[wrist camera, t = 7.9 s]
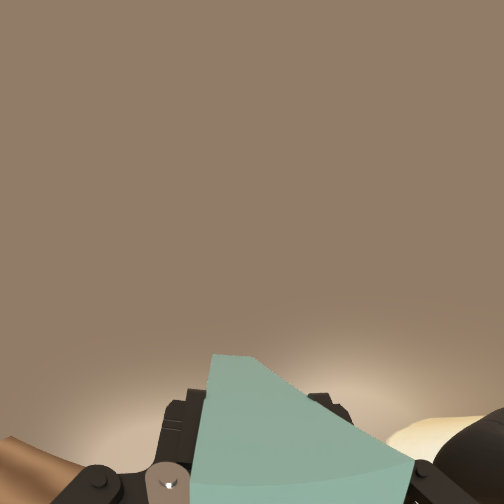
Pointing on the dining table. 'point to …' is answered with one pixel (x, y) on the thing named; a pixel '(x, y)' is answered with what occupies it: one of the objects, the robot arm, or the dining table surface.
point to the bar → (285, 446)
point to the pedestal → (32, 473)
